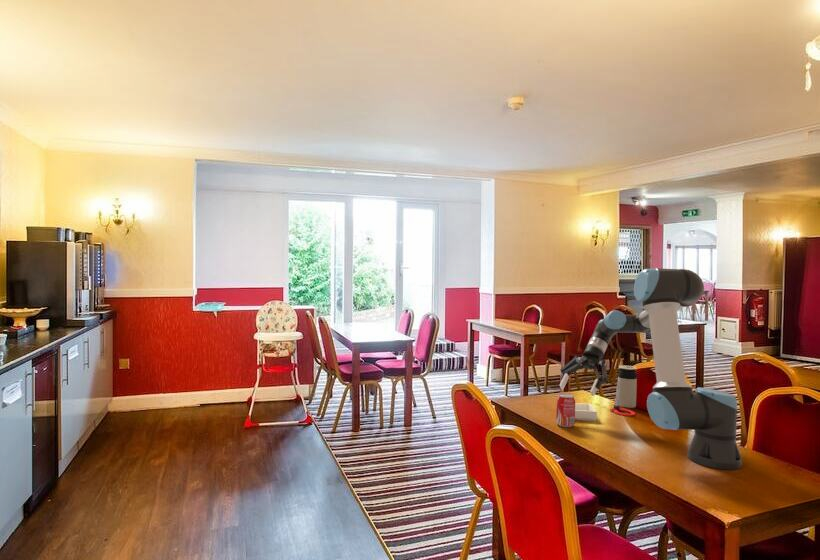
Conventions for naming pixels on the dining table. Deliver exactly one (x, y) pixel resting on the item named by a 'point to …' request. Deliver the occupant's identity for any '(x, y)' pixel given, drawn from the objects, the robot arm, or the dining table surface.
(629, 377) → the travel mug
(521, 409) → the dining table surface
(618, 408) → the tow hook
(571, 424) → the soda can
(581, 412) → the open white tray
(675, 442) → the dining table surface
